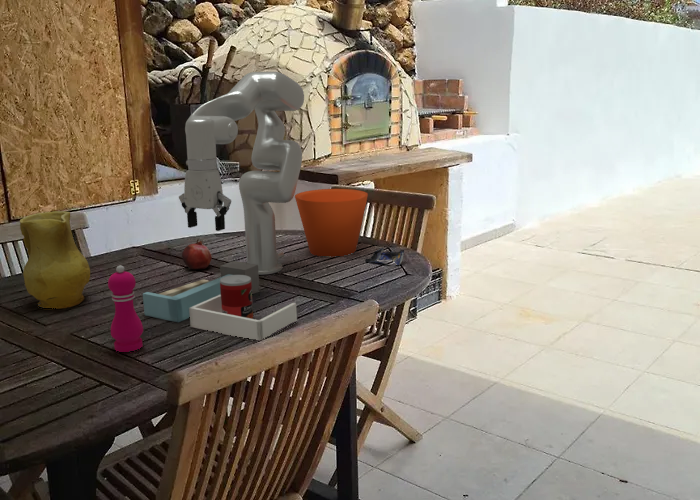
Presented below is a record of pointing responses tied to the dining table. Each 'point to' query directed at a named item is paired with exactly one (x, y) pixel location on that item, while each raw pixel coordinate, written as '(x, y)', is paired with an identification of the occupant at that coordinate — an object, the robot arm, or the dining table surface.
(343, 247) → the flowerpot
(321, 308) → the dining table surface
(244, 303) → the canned food
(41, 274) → the pitcher
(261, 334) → the bay
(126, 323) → the pepper mill
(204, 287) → the teal gray angled bar
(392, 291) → the dining table surface
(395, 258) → the snack package
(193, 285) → the stick
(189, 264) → the fruit
